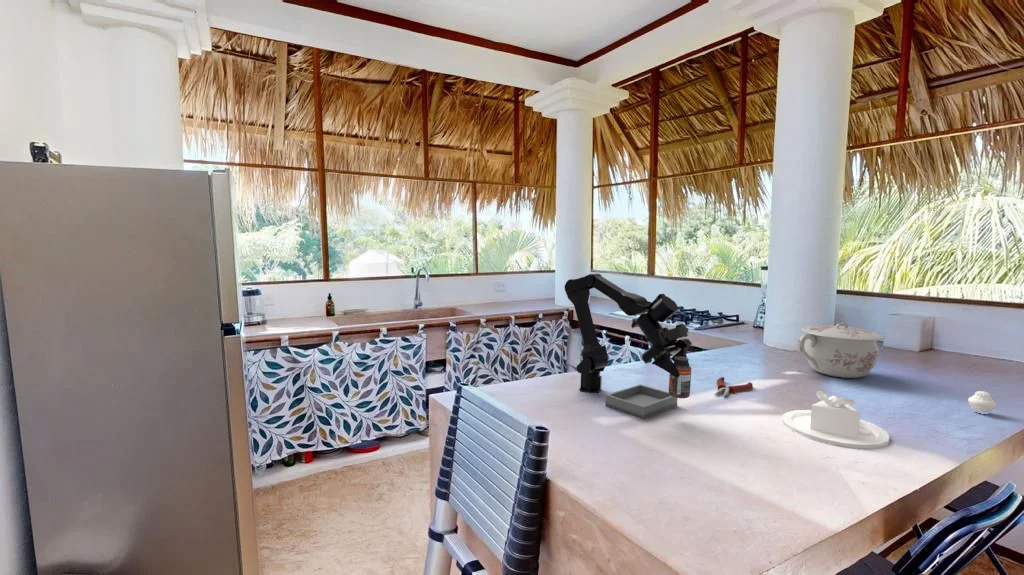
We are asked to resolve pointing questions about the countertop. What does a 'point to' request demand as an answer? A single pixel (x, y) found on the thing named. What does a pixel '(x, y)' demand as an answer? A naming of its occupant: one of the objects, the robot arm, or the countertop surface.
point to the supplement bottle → (680, 379)
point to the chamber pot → (840, 349)
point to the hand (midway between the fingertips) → (684, 374)
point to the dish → (835, 424)
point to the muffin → (982, 402)
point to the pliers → (731, 387)
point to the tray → (640, 401)
